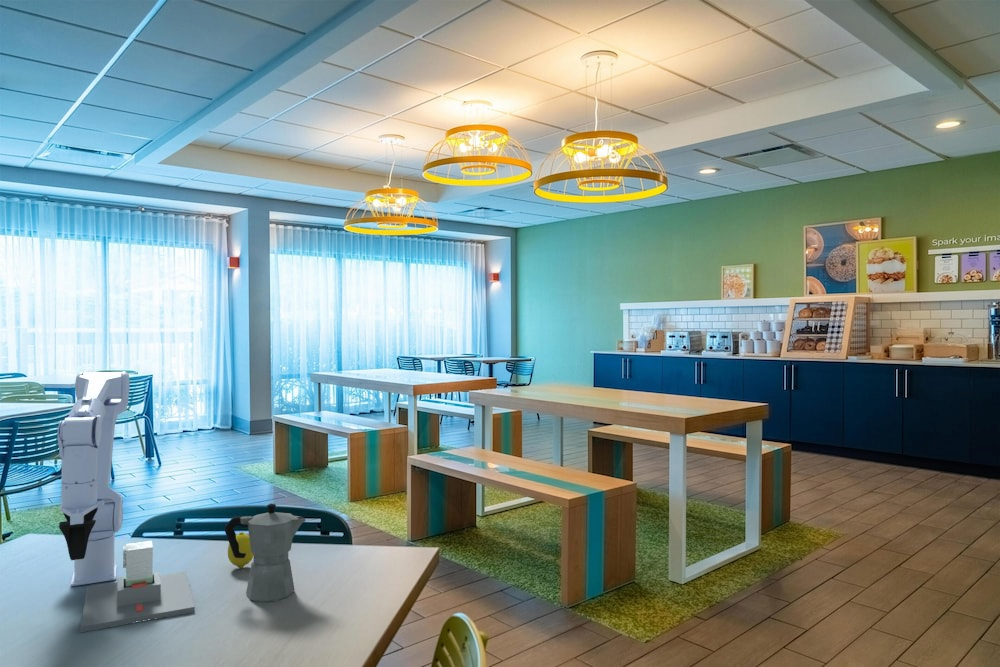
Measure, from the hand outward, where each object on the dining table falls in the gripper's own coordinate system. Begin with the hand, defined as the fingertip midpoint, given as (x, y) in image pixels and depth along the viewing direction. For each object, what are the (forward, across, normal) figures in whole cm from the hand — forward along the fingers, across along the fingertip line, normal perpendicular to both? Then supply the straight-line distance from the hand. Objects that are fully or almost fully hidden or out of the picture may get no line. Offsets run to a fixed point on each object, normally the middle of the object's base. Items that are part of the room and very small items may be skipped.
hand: (78, 552), depth 125 cm
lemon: (+11, +8, -30) cm, 33 cm away
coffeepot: (+11, -9, -32) cm, 35 cm away
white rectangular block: (+6, -2, -10) cm, 12 cm away
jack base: (+10, -2, -10) cm, 15 cm away
